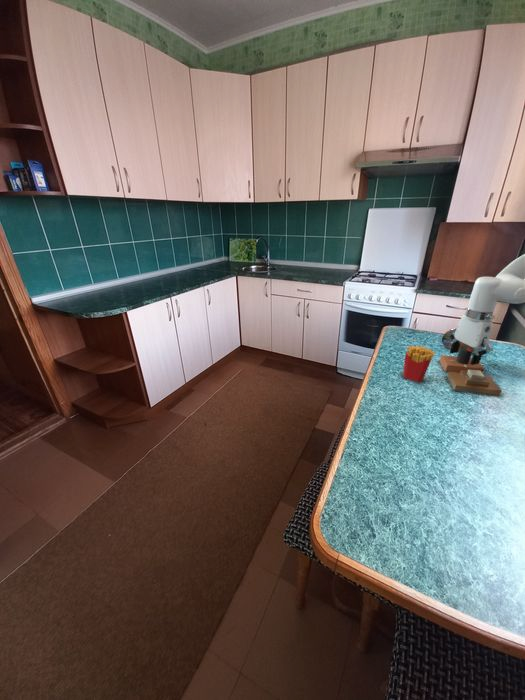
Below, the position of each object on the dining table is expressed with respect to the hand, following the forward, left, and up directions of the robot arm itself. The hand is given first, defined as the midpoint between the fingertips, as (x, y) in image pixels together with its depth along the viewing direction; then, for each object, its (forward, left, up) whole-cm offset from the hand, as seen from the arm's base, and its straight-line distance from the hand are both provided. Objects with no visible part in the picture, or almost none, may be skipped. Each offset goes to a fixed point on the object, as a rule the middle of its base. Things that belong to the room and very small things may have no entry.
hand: (463, 358), depth 107 cm
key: (0, +12, -1) cm, 12 cm away
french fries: (+18, +11, -5) cm, 22 cm away
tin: (-5, -17, -5) cm, 18 cm away
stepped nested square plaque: (0, +12, -4) cm, 13 cm away
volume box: (0, 0, -4) cm, 4 cm away
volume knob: (0, 0, -1) cm, 1 cm away
